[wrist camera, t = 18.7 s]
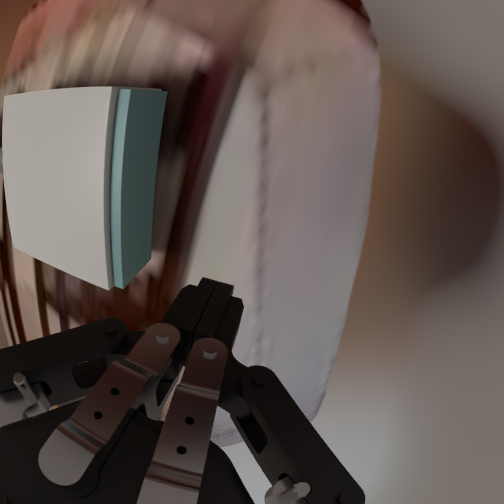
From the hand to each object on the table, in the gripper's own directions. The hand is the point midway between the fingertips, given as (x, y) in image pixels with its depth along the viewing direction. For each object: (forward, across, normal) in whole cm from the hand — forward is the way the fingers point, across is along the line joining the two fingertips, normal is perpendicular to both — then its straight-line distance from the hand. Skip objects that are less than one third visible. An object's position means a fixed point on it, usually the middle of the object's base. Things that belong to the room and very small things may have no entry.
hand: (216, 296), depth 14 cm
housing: (+15, +20, 0) cm, 25 cm away
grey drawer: (+14, +18, 0) cm, 23 cm away
